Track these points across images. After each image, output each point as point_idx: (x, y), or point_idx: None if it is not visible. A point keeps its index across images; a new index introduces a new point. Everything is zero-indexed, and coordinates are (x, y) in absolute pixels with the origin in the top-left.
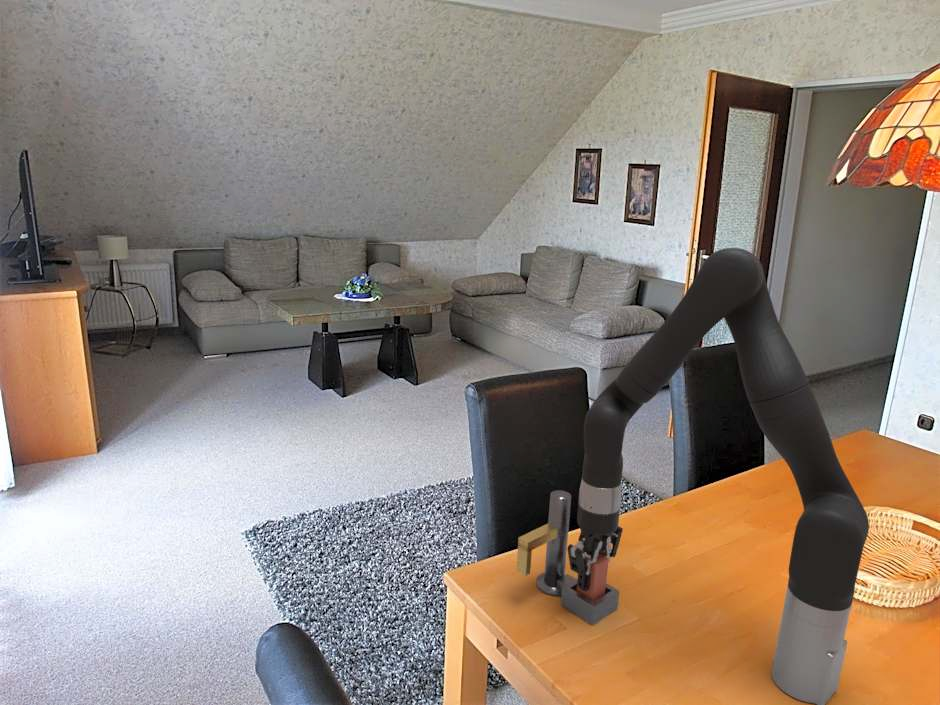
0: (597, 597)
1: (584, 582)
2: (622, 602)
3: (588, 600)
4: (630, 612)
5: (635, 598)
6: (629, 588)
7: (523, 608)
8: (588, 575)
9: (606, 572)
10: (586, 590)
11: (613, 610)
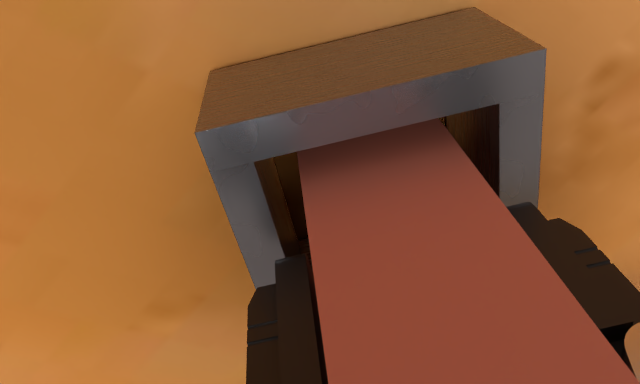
0: (390, 150)
1: (591, 264)
2: (128, 115)
3: (515, 134)
4: (133, 7)
5: (12, 112)
6: (4, 202)
7: (623, 261)
8: (620, 315)
9: (331, 305)
10: (532, 204)
11: (253, 63)
